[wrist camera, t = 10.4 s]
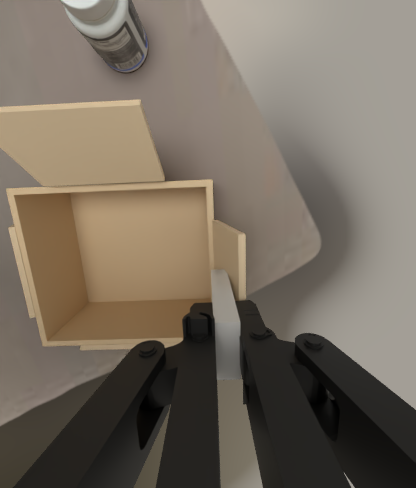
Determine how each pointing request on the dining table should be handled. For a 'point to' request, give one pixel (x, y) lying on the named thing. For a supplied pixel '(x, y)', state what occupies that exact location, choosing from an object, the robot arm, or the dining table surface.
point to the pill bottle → (111, 30)
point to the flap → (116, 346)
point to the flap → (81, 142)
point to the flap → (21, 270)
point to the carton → (115, 258)
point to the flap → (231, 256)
